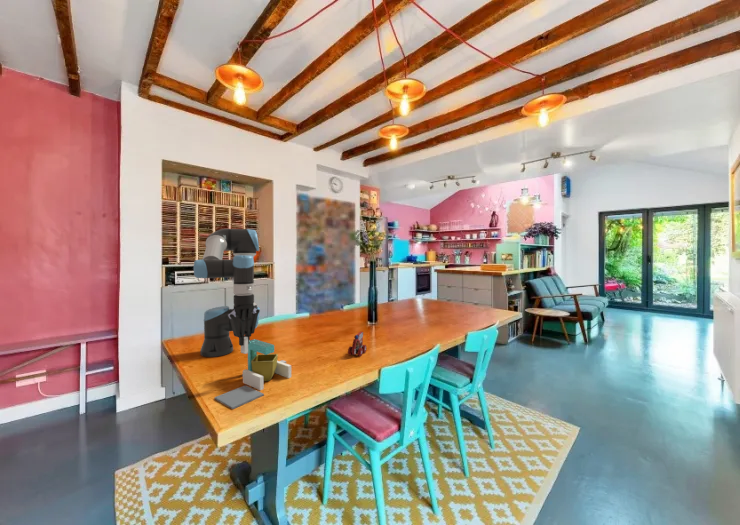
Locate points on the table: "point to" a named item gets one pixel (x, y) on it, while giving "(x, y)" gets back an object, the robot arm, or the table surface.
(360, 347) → the toy fire truck
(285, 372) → the white bars
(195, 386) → the table surface
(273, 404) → the table surface
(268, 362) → the flower pot
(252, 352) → the gate
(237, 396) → the mat
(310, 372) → the table surface
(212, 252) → the robot arm
